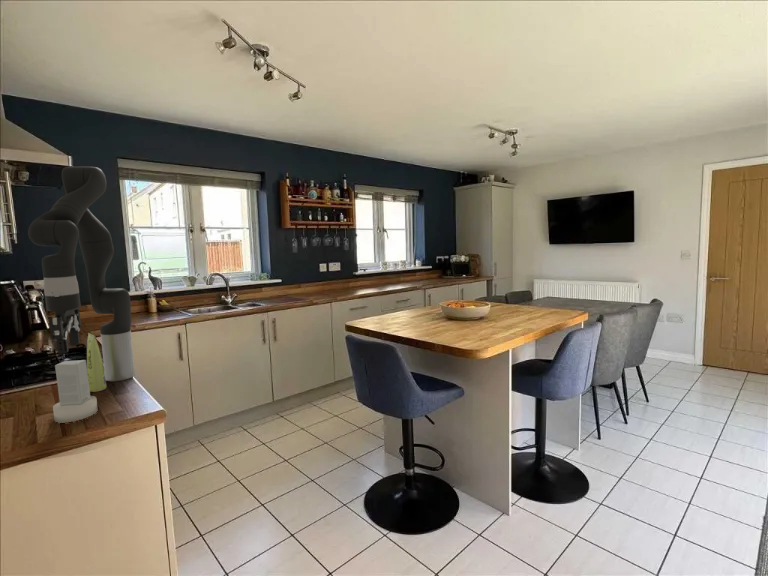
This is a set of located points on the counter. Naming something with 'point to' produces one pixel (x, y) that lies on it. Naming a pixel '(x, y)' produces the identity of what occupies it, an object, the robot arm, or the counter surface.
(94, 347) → the tube
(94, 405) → the stand
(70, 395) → the skincare box
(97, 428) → the counter surface
